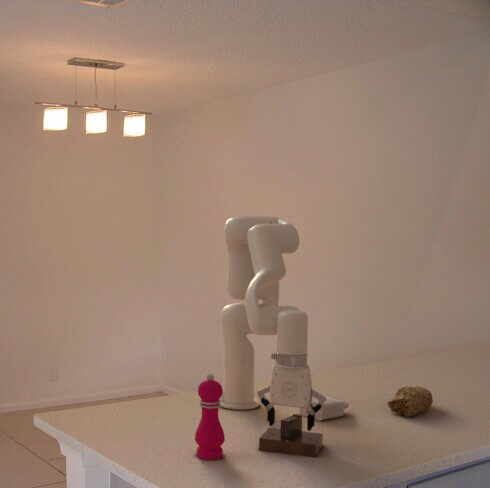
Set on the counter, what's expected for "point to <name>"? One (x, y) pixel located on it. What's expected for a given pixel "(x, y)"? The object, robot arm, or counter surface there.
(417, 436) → the counter surface
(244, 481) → the counter surface
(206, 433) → the pepper mill
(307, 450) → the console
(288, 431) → the dark bar red tip
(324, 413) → the charger
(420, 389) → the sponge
